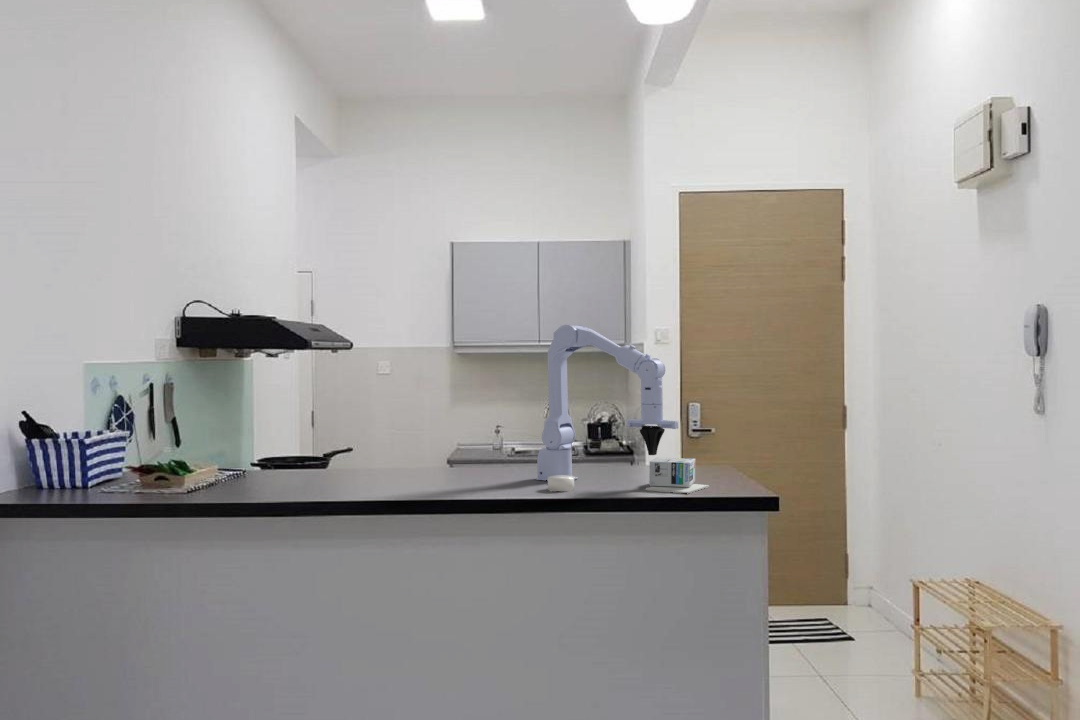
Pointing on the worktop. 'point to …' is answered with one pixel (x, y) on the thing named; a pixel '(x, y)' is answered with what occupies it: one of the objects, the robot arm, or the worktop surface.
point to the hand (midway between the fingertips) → (652, 454)
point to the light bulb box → (672, 472)
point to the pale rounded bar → (561, 483)
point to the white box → (678, 488)
